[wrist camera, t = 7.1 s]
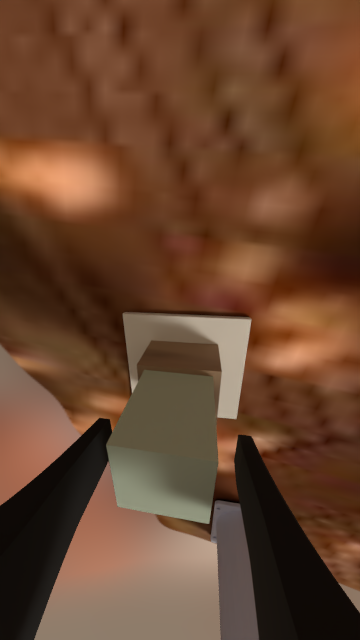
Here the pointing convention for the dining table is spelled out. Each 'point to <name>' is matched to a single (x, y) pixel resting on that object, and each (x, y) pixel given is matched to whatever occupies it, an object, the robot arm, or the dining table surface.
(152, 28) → the dining table surface
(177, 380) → the sage block
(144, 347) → the stone tile
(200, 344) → the walnut block
